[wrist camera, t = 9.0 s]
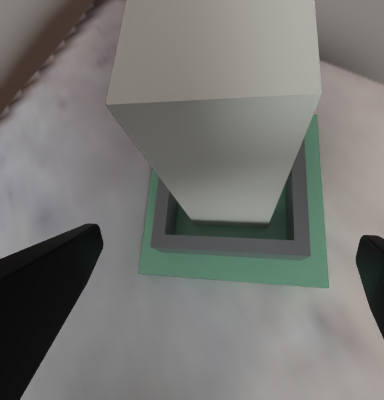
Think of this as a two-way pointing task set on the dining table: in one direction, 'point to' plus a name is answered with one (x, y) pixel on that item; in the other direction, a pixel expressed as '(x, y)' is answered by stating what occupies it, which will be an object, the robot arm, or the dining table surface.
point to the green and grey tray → (245, 234)
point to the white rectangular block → (218, 99)
